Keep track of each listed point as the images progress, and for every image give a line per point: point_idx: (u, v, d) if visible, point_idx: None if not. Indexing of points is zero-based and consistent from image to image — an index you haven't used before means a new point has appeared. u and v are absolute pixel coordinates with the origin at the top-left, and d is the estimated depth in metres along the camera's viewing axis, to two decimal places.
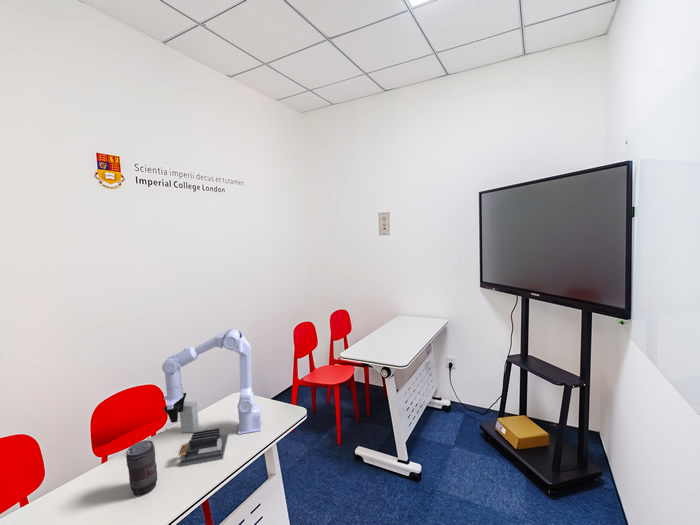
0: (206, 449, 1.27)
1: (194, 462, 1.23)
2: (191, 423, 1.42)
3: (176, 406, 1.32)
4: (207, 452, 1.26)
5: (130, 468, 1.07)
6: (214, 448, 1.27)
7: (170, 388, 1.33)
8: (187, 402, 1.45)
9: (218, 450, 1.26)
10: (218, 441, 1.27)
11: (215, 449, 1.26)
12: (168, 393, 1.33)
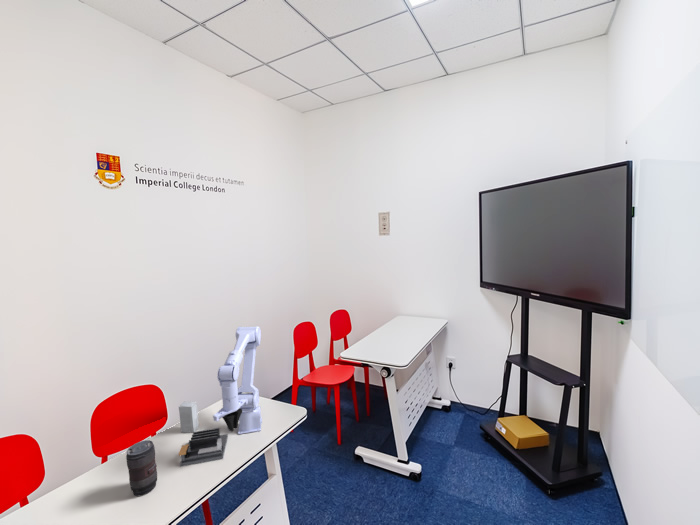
0: (206, 449, 1.27)
1: (194, 462, 1.23)
2: (191, 423, 1.42)
3: (230, 416, 1.25)
4: (207, 452, 1.26)
5: (130, 468, 1.07)
6: (214, 448, 1.27)
7: (223, 398, 1.25)
8: (187, 402, 1.45)
9: (218, 450, 1.26)
10: (218, 441, 1.27)
11: (215, 449, 1.26)
12: None
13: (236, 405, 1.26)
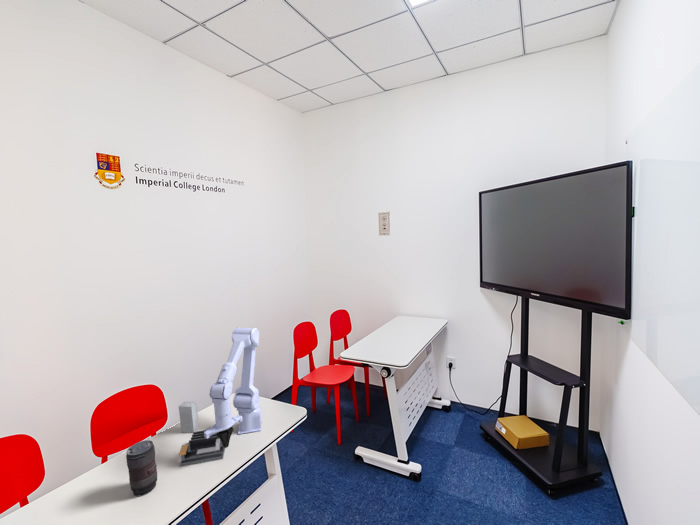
0: (205, 449, 1.27)
1: (194, 462, 1.23)
2: (191, 423, 1.42)
3: (223, 433, 1.25)
4: (206, 452, 1.25)
5: (130, 468, 1.07)
6: (213, 448, 1.27)
7: (215, 415, 1.25)
8: (187, 402, 1.45)
9: (217, 450, 1.26)
10: (217, 441, 1.27)
11: (213, 450, 1.26)
12: None
13: (228, 423, 1.25)
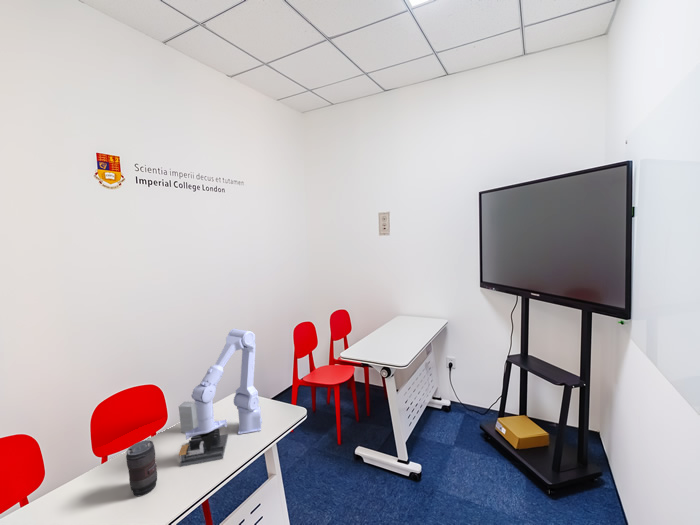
0: (189, 452, 1.25)
1: (194, 462, 1.23)
2: (191, 423, 1.42)
3: (204, 435, 1.24)
4: (190, 455, 1.24)
5: (130, 468, 1.07)
6: (197, 451, 1.26)
7: (197, 417, 1.24)
8: (187, 402, 1.45)
9: (201, 453, 1.25)
10: (201, 444, 1.25)
11: (197, 452, 1.25)
12: None
13: (208, 427, 1.23)
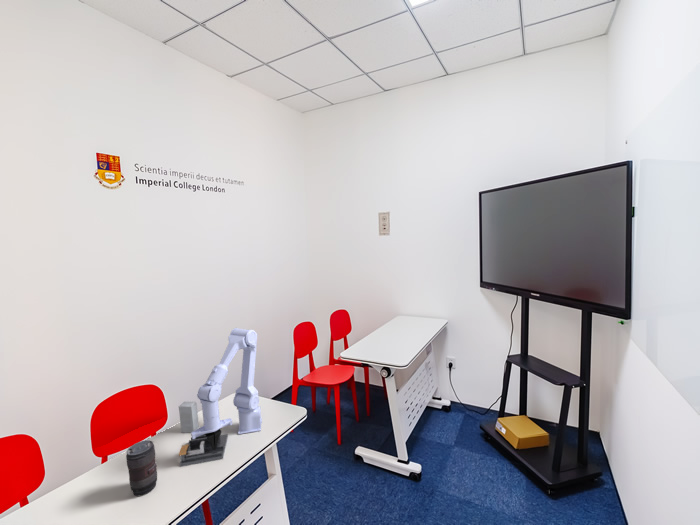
0: (189, 452, 1.25)
1: (194, 462, 1.23)
2: (191, 423, 1.42)
3: (210, 435, 1.24)
4: (190, 455, 1.24)
5: (130, 468, 1.07)
6: (197, 451, 1.26)
7: (203, 416, 1.25)
8: (187, 402, 1.45)
9: (201, 453, 1.25)
10: (201, 444, 1.25)
11: (198, 452, 1.25)
12: None
13: (214, 426, 1.24)
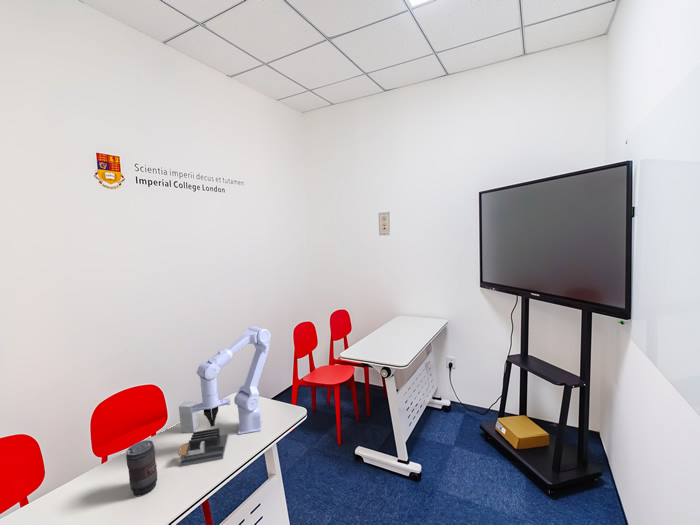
0: (189, 452, 1.25)
1: (194, 462, 1.23)
2: (191, 423, 1.42)
3: (207, 411, 1.29)
4: (190, 455, 1.24)
5: (130, 468, 1.07)
6: (197, 451, 1.26)
7: None
8: (187, 402, 1.45)
9: (201, 453, 1.25)
10: (201, 444, 1.25)
11: (198, 452, 1.25)
12: None
13: (211, 403, 1.28)
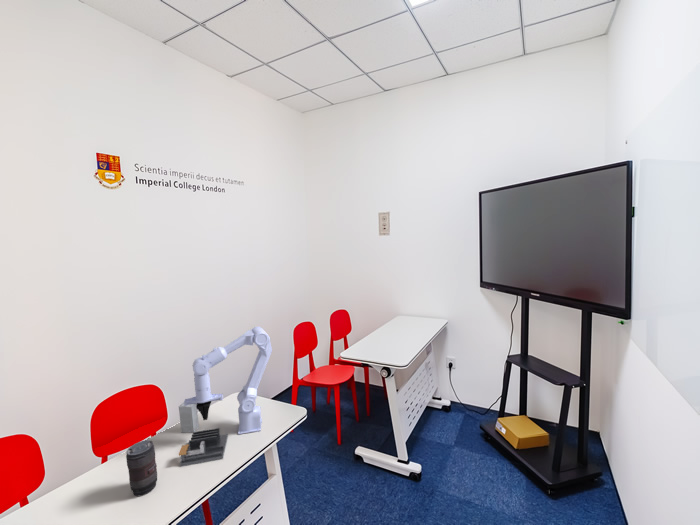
0: (189, 452, 1.25)
1: (194, 462, 1.23)
2: (191, 423, 1.42)
3: (199, 405, 1.34)
4: (190, 455, 1.24)
5: (130, 468, 1.07)
6: (197, 451, 1.26)
7: None
8: None
9: (201, 453, 1.25)
10: (201, 444, 1.25)
11: (198, 452, 1.25)
12: None
13: (203, 398, 1.32)
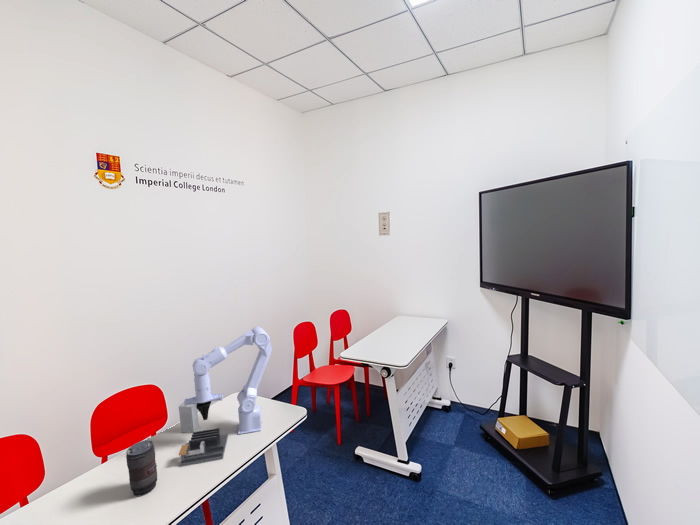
0: (189, 452, 1.25)
1: (194, 462, 1.23)
2: (191, 423, 1.42)
3: (199, 405, 1.34)
4: (190, 455, 1.24)
5: (130, 468, 1.07)
6: (197, 451, 1.26)
7: None
8: None
9: (201, 453, 1.25)
10: (201, 444, 1.25)
11: (198, 452, 1.25)
12: None
13: (203, 398, 1.32)
